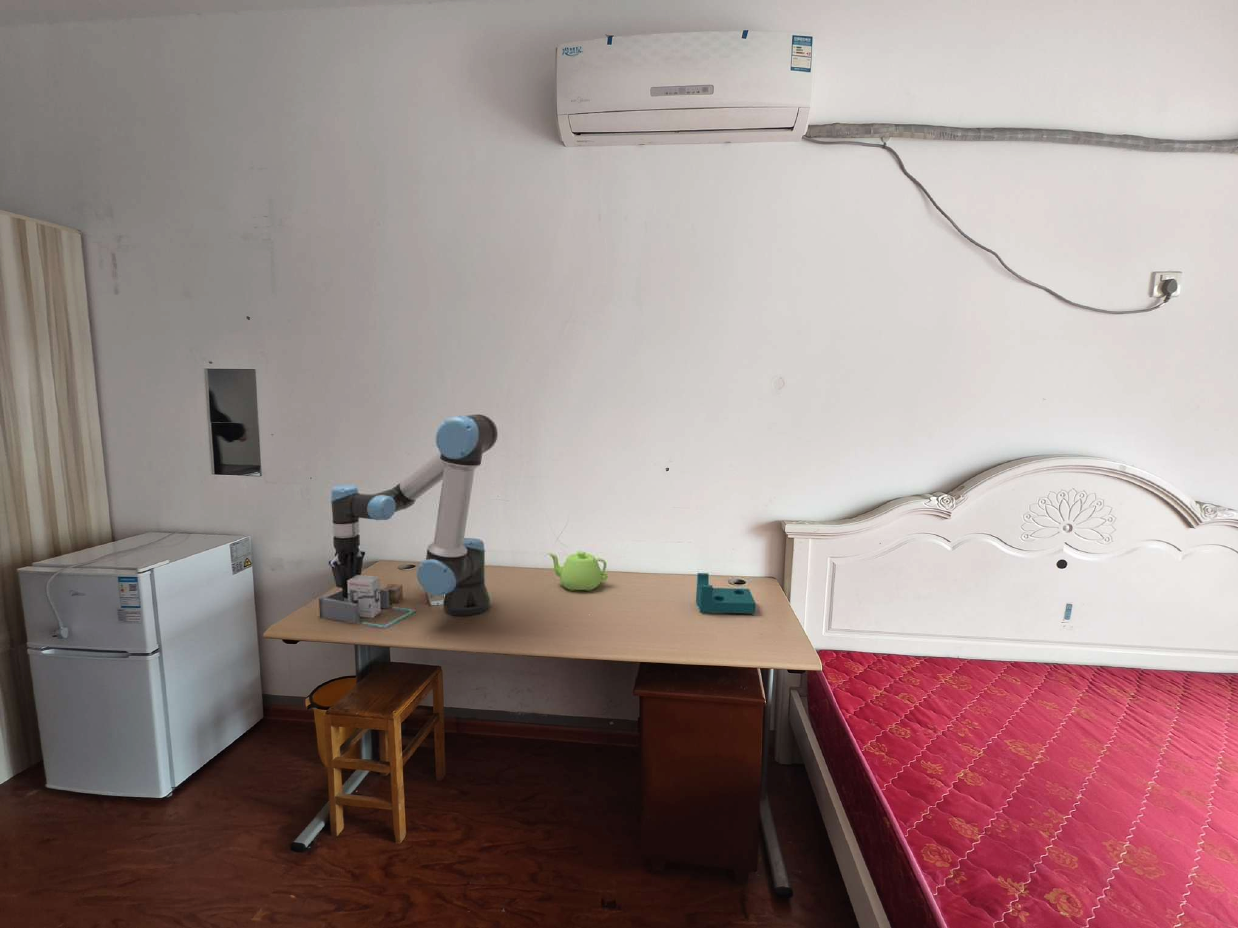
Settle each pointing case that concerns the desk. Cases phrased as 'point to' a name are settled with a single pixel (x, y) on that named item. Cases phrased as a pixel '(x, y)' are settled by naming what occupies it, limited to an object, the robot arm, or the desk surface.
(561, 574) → the teapot
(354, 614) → the cubby
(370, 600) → the ink box
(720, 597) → the teal l-shaped bracket
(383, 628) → the frame
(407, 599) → the desk surface
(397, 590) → the walnut block
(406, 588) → the desk surface
